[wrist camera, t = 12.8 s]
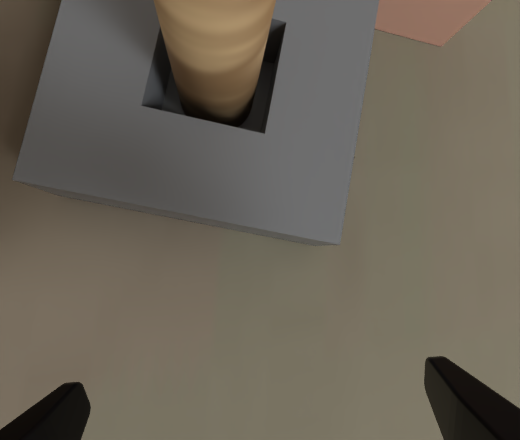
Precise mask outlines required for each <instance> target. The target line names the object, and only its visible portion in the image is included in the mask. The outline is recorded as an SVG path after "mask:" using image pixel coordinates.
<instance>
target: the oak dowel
mask: <svg viewBox="0 0 520 440" xmlns="http://www.w3.org/2000/svg"><path fill="white" fill-rule="evenodd" d="M275 3H276V0H154V4H155V8H156V12H157V15H158V19H159V23H160V27H161V31H162V34H163V38H164V42H165V46H166V49H167V53H168V57H169V61H170V64H171V68H172V72H173V76H174V80H175V83H176V87H177V91H178V95H179V98H180V102H181V106H182V109H183V111H184V113H185V115H186V116H189V117H193V118H198V119H202V120H206V121H211V122H215V123H220V124H224V125H228V126H233V127H238V126H240V125H241V124H242V123H243V122H244V121H245V120H246V119H247V117H248V116H249V114H250V111H251V109H252V105H253V100H254V96H255V91H256V87H257V82H258V78H259V74H260V69H261V65H262V60H263V56H264V51H265V47H266V43H267V38H268V34H269V29H270V25H271V20H272V16H273V12H274V7H275Z"/></svg>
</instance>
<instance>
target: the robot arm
mask: <svg viewBox="0 0 520 440" xmlns="http://www.w3.org/2000/svg"><path fill="white" fill-rule="evenodd" d="M424 385H425V390H426V394H427V396H428V399H429V402H430V404H431V407H432V410H433V412H434V415H435V417H436V420H437V423H438V425H439V428H440V431H441V433H442V436H443V439H444V440H520V408H518V407H517V406H515V405H514V404H512V403H511V402H509V401H508V400H507V399H505V398H504V397H502V396H501V395H499V394H498V393H496V392H495V391H494V390H492V389H491V388H489V387H488V386H486V385H485V384H483V383H482V382H481V381H479V380H478V379H476V378H475V377H473V376H472V375H470V374H469V373H468V372H466V371H465V370H463V369H462V368H460V367H459V366H457V365H456V364H455V363H453V362H452V361H450V360H449V359H447V358H446V357H443V356H437V357H428V358H427V359H426V361H425V377H424ZM90 408H91V407H90V402H89V400H88V397H87V394H86V392H85V389H84V387H83V385H82V384H81V383H80V382H70V383H64V384H63V385H61V386H60V387H58V388H57V389H56V390H54V391H53V392H51V393H50V394H49V395H47V396H46V397H45V398H43V399H42V400H40V401H39V402H38V403H36V404H35V405H34V406H32V407H31V408H29V409H28V410H27V411H25V412H24V413H23V414H21V415H20V416H18V417H17V418H16V419H14V420H13V421H12V422H10V423H9V424H7V425H6V426H5V427H3V428H2V429H1V430H0V440H81V437H82V435H83V432H84V429H85V426H86V423H87V420H88V418H89V415H90Z"/></svg>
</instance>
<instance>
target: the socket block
mask: <svg viewBox="0 0 520 440" xmlns="http://www.w3.org/2000/svg"><path fill="white" fill-rule="evenodd" d="M378 5H379V0H276V3H275V7H274V12H273V16H272V20H271V25H270V29H269V34H268V38H267V43H266V47H265V51H264V56H263V60H262V65H261V69H260V74H259V78H258V82H257V87H256V91H255V96H254V100H253V105H252V109H251V111H250V114H249V116H248V117H247V119H246V120H245V121H244V122H243V123H242V124H241V125H240V126H238V127H233V126H228V125H224V124H220V123H215V122H211V121H206V120H202V119H198V118H193V117H189V116H186V115H185V113H184V111H183V109H182V106H181V102H180V98H179V95H178V91H177V87H176V83H175V80H174V76H173V72H172V68H171V64H170V61H169V57H168V53H167V49H166V46H165V42H164V38H163V34H162V31H161V27H160V23H159V19H158V15H157V12H156V8H155V4H154V0H62V1H61V5H60V8H59V12H58V15H57V19H56V23H55V26H54V30H53V34H52V37H51V41H50V44H49V48H48V52H47V55H46V59H45V63H44V66H43V70H42V73H41V77H40V81H39V84H38V88H37V91H36V95H35V99H34V102H33V106H32V110H31V113H30V117H29V120H28V124H27V128H26V131H25V135H24V139H23V142H22V146H21V149H20V153H19V157H18V160H17V164H16V167H15V171H14V175H13V178H12V180H14V181H17V182H20V183H23V184H26V185H29V186H32V187H35V188H38V189H41V190H44V191H47V192H50V193H53V194H56V195H59V196H63V197H69V198H74V199H79V200H84V201H89V202H94V203H99V204H104V205H109V206H114V207H119V208H125V209H130V210H135V211H140V212H145V213H150V214H155V215H160V216H165V217H170V218H176V219H181V220H186V221H191V222H196V223H201V224H206V225H211V226H216V227H221V228H226V229H232V230H237V231H242V232H247V233H252V234H257V235H262V236H267V237H272V238H277V239H283V240H288V241H293V242H298V243H303V244H308V245H313V246H322V245H340V241H341V235H342V228H343V222H344V216H345V210H346V203H347V197H348V191H349V185H350V179H351V172H352V166H353V160H354V154H355V148H356V141H357V135H358V129H359V123H360V117H361V110H362V104H363V98H364V92H365V86H366V79H367V73H368V67H369V61H370V55H371V48H372V42H373V36H374V30H375V24H376V17H377V11H378Z"/></svg>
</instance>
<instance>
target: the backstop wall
mask: <svg viewBox="0 0 520 440" xmlns="http://www.w3.org/2000/svg"><path fill="white" fill-rule="evenodd" d="M490 1H492V0H379V5H378V11H377V17H376V24H375V29H377V30H381V31H385V32H388V33H392V34H396V35H399V36H403V37H407V38H411V39H414V40H418V41H422V42H426V43H429V44H433V45H437V46H440V47H441V46H442V45H444V44H445V43H446V42H447V41H448V40H449V39H450V38H451V37H452V36H453V35H454V34H456V33H457V32H458V31H459V30H460V29H461V28H462V27H463V26H464V25H465V24H466V23H468V22H469V21H470V20H471V19H472V18H473V17H474V16H475V15H476V14H477V13H478V12H480V11H481V10H482V9H483V8H484V7H485V6H486V5H487V4H488V3H489V2H490Z"/></svg>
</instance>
